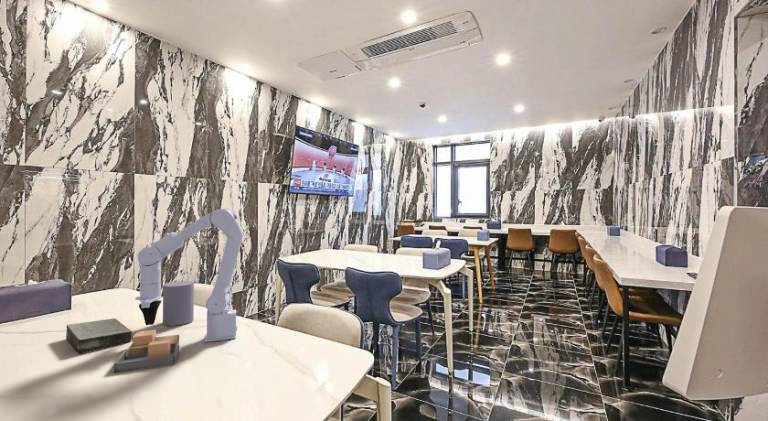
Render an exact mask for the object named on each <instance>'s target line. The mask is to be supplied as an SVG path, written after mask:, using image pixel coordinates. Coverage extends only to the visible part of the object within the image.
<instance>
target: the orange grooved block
mask: <svg viewBox="0 0 768 421" xmlns="http://www.w3.org/2000/svg"><path fill="white" fill-rule="evenodd" d="M164 340H170V350H175V349H176V347H177V345H180V334H173V335H166V336H165V335H164V336H156V338H155V340H154V341H153V342H155V341H164ZM143 353H148V344H140V345H133V342H132V343H131V345H130V346H129V347H128V349H127V355H135V354H143Z"/></svg>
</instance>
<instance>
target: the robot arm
mask: <svg viewBox="0 0 768 421" xmlns="http://www.w3.org/2000/svg"><path fill="white" fill-rule="evenodd" d="M213 227H215V228H217V229H218V230H220V231H221V232H222V233H223V234H224V235H225V237H226V238H227V239H226V242H225V247H224V251H223V253H222V257H221V261H220V265H219V270H218V272H217V277H216V281H215V284H214V285H213V286H214V287H213V289H212V292H211V294H210V296H209V297H208V298H207V299H206V302H205V308H206V333H205V337H204V342H205V343H208V342H209V343H210V342H216V341H217V342H218V341H225V340H232V339H236V338H237V331H238V325H237V309H231V306H229V303H230V302H231V298H232V295H231V286H232V280H233V277H234V272H235V270H236V264H237V262H238V257H239V254H240V250H241V246H242V241H243V238H244V232H243V230H242V227H241V224H240V221H239V217H238V216H237V215H236V214H235V212H234V211H233V210H231V209H229V208H218V209H215V210H214V211H213V212H210V213H207V214H205V215H203V216H201V217H199V219H197V220H195V221H194V222H192V223H191V224H189V225H188V226H187V227H185V228H183V229H182V230H179V232H166V233H164V234H163V237H161V238H160V239H158V240H157V241H152V242H151V243H150V246H145V247H143V248H141V249H140V251H139V252H138V254H137V260H138V262H139V263H140V274H139V296H136V297H135V301H140V303H139V304H138V308H139V309H140V311H141V313H142V316H143V320H144V324H145V325H146V326H152V325H154V324H155V322H156V318H157V314H158V310H159V308H160V305H161V304H162V300H161V299H162V290H161V289H162V260H163V259H164V258H165V257H167V256H169V255H171V254H173V253H174V252H176V251H177V250H179V249H180V248H182V247H183V246H184V243H185V241H186V240H187V239H189V238H191V237H193V236H194V235H195V234H197V233H199V232H201V231H202V230H204V229H207V228H213Z"/></svg>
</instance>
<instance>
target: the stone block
mask: <svg viewBox="0 0 768 421" xmlns="http://www.w3.org/2000/svg"><path fill="white" fill-rule="evenodd" d="M132 331H133V330H130V329H129V328H128V327H127V326H126V325H124V324H123V323H122V322H120V321H119V319H117V318H109V319H100V320H93V321H85V322H78V323H71V324H66V333H65V339H66V341H67V342H68V343H69V344H70V345H71V347H72V348H73V349H74V352H75V353H77V354H78V355H82V354H86V353H91V352H95V351H100V350H103V349H102V348H104V349H107V347H108V348H111V346H112V347H116V346H120V345H124V344H128V343H131V342H132V337H133V336H132V335H133V332H132ZM99 349H100V350H99ZM94 350H95V351H94ZM90 351H91V352H90Z"/></svg>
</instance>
